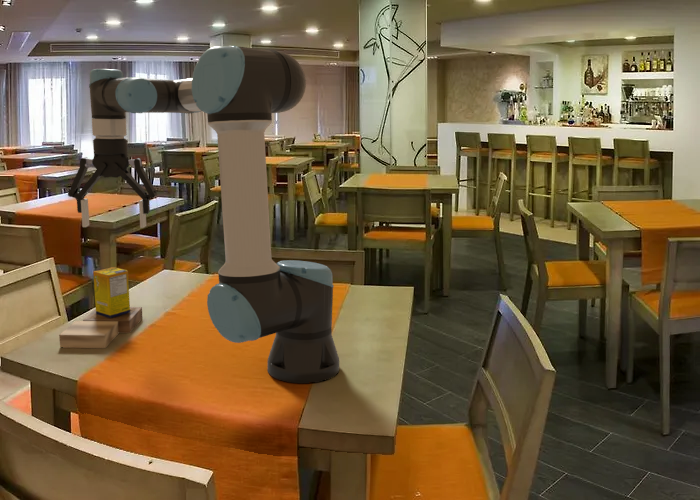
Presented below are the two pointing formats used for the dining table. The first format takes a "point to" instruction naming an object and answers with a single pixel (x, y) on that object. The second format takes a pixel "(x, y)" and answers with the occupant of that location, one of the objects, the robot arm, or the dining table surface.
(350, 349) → the dining table surface
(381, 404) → the dining table surface
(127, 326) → the walnut stand
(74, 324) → the oak stand
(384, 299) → the dining table surface
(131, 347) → the dining table surface
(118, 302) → the supplement box
